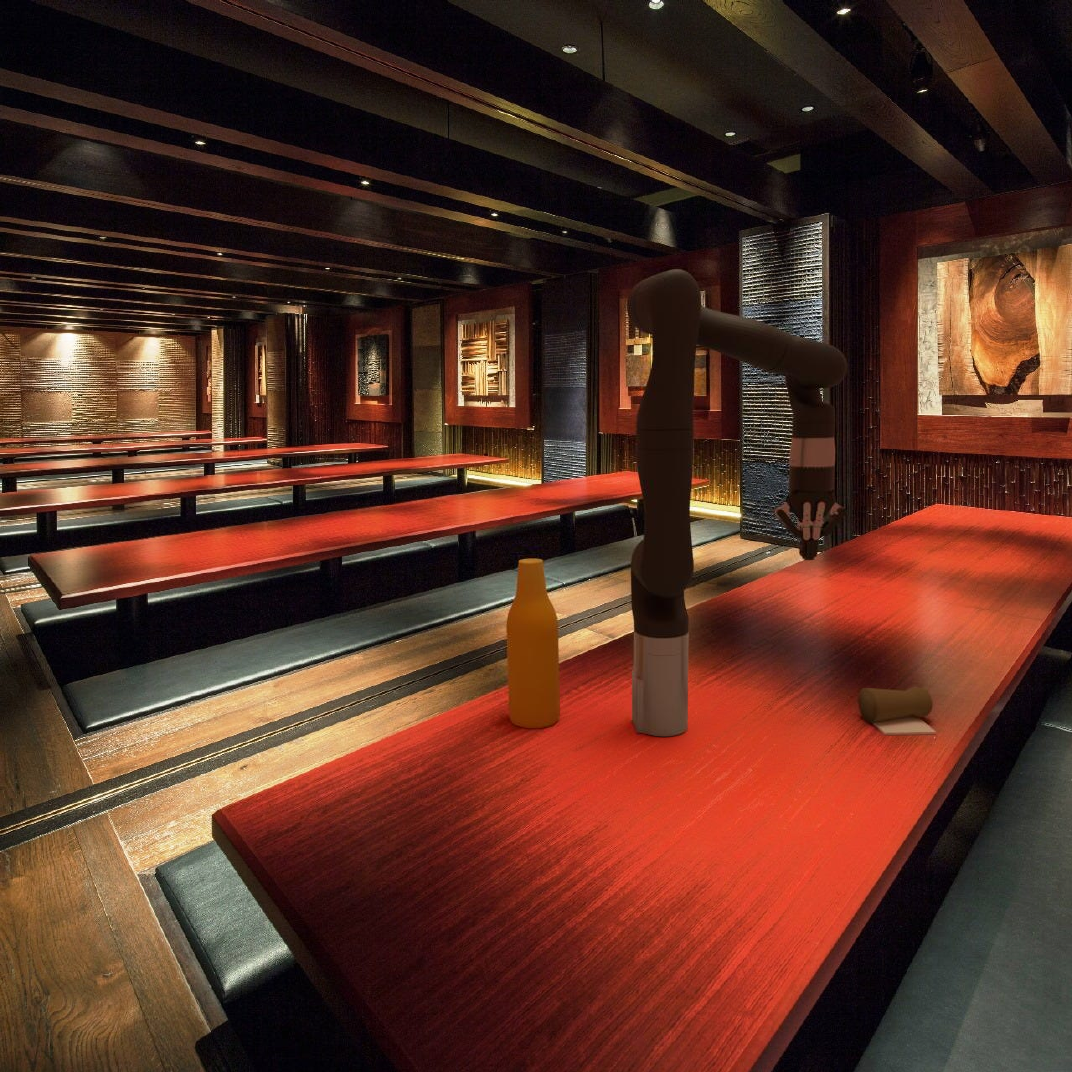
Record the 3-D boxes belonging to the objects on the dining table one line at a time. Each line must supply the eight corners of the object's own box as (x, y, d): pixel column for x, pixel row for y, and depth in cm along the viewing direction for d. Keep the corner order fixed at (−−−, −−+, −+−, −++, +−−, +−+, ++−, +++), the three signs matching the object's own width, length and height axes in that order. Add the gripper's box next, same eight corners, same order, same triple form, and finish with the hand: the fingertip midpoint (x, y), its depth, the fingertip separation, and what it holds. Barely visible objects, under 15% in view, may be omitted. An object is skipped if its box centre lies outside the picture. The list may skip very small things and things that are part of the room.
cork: (854, 696, 134) (912, 692, 135) (866, 728, 130) (925, 724, 131) (869, 681, 129) (928, 678, 130) (881, 715, 125) (942, 711, 126)
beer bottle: (504, 728, 131) (498, 565, 126) (514, 707, 140) (509, 555, 135) (556, 730, 129) (553, 566, 124) (563, 709, 138) (560, 555, 133)
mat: (884, 734, 125) (884, 732, 125) (859, 711, 134) (859, 708, 134) (935, 734, 124) (936, 731, 124) (907, 710, 134) (907, 708, 134)
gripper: (780, 465, 129) (777, 564, 131) (858, 464, 128) (853, 563, 131) (768, 462, 136) (765, 556, 139) (841, 461, 136) (836, 554, 139)
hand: (808, 559), depth 135 cm, fingers closed
